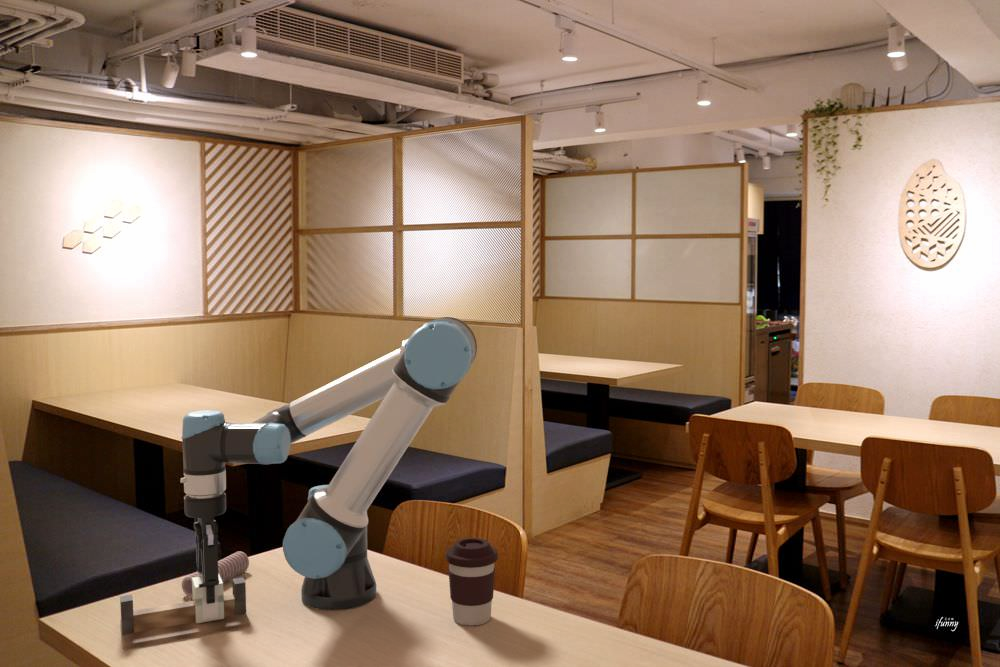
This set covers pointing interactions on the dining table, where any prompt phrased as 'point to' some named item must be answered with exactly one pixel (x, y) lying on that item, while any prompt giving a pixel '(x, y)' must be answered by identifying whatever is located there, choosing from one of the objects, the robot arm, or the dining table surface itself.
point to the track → (184, 631)
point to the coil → (221, 570)
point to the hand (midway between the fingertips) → (208, 611)
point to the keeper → (198, 599)
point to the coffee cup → (471, 580)
